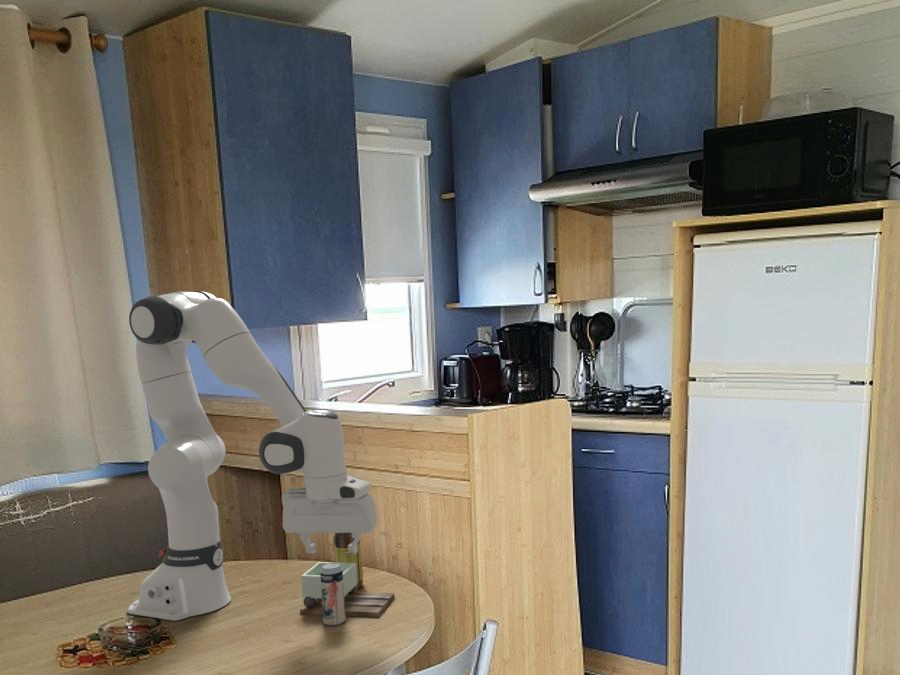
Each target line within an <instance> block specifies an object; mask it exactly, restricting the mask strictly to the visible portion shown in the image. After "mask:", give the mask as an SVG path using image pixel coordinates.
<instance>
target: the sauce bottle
mask: <svg viewBox="0 0 900 675" xmlns="http://www.w3.org/2000/svg"><path fill="white" fill-rule="evenodd" d="M354 538H355V537H354ZM354 538H352V533H334V537H333V550H334V552H333V553H334V562H335V563H356V570H357V585H356V586H357V589H359V588H361V587H362V586H363V585H364V580H363V578H364V574H363V572H364V570H363V561H362V560H363V559H362V548H361V540H359V542H358V543H357V546H358V552H357V553H356V554H349V553H348V545H350V544H351V543H353V541H354Z"/></svg>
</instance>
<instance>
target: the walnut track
mask: <svg viewBox="0 0 900 675" xmlns="http://www.w3.org/2000/svg"><path fill="white" fill-rule="evenodd" d="M394 599H395V593H394V592H389V593H388V592H373V591H372V592H370V591H369V592H367V591H355V592H354V593H353V594H347V595H346V596H345V597H344V604H345V617H367V618H369V617H370V618H379V617H380V616H381V615H382V614H383V613H384V611H385V610H386V608H387V607H388V606H389V605H390V604H391V603H392V601H393V600H394ZM315 600H316V602H315V604H314V605H313V606H312V607H310V608H308V607H306V606H305V605H304V604H303V606H301V607H300V608H299V614H301V615H318V616H319V615H322V616H323V608H322V598H315Z"/></svg>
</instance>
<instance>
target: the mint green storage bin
mask: <svg viewBox="0 0 900 675" xmlns="http://www.w3.org/2000/svg"><path fill="white" fill-rule="evenodd" d="M327 563H335V561H334V562H330V561H329V562H328V561H327V562H326V561H324V562H323V561H318V562H317V563H316V564H314V565H313V566H312V567H311V568H309V569H308V570H307V571H305V572H304V573H303V574H302V575H301V578H300V579H301V593H302V598H303V606H304V605H305V606H306V607H308V608H310V607H312V606H313V605H314V604H315V602H316V600H315V598H322V591H321V574H320V570H321V567H322V565H324V564H327ZM340 565H341V567H342V568H343V587H344V597H345V596H346V595H347V594H353V593H354V592H357V590H358V588H357V586H356V585H357V570H356V563H340Z"/></svg>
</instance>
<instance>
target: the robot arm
mask: <svg viewBox="0 0 900 675" xmlns="http://www.w3.org/2000/svg"><path fill="white" fill-rule="evenodd" d="M128 323H129V327H130V330H131V332H132V334H133V335H134V337H135V338H136V339H137V342H136V345H135V354H136V356H135V357H136V365H137V370H138V374H139V375H138V376H139V380H140V384H141V388H142V390H143V391H142V392H143V394H144V398H145V402H146V407H147V410H148V413H149V416H150V418H151V419H152V420H153V421H154V422H155V423H156V424H157V426H159V428H160V429H161V432H162V433H163V435H164V437H165V438H166V440H167V442H165V443H163V445H161V446H160V447H159V448H158V449H157V450H156V451H155V452H154V453H153V455H152V456H151V457H150V458H149V459H150V460H149V461H148V466H147V471H148V472H147V473H148V476H149V479H150V480H151V482H152V483H153V485H154V486H156V487H157V488H158V491H159V493H160V496H161V500H162V503H163V506H164V508H165V514H166V524H167V536H168V545H167V546H165V547H164V548H163V549H162V550H160V551H158V553H159V555H158V557H162V556H163V555H164V556H163V560H162V563H160V565H158V566H157V567H156V568H155V569H154V570H153V571H152V572H150V573H149V574H148V575H147V576H146V577H145V578H144V579H143V580H142V582H141V583H140V587H139V591H138V598H137V599H136V600H135V601H134V602H132V603H131V604H129V607H128V610H127V611H128V614H130V615H136V616H142V617H149V618H153V619H155V618H157V619H159V620H160V619H162V620H168V621H179V620H183V619H187V618H190V617H195V616H199V615H204V614H208V613H212V612H214V611H216V610H219V609H221V608H223V607H225V606H227V605H228V604H229V603H231V600H232V597H231V594H230V592H229V588H228V586H227V582H226V578H225V573H224V568H223V564H224V563H223V562H224V561H223V560H224V559H223V558H224V552H223V542H222V541H223V540H222V538H220V520H219V510H218V505H217V503H216V502H215V501H214V500H213V497H212V494H211V490H210V488H209V484H208V483H209V482H208V477H209V476H211V475H212V474H214V473H215V472H216V471H217V470H219V468H220V466H221V465H222V464H223V462H224V460H225V457H226V445H225V443H224V441H223V440H222V438H221V437H220V436H219V435H218V434H217V433H216V431H215V430H214V428H213V426H212V424H211V422H210V420H209V418H208V416H207V414H206V413H205V410H204V408H203V405H202V403H201V400H200V396H199V394H198V390H197V386H196V383H195V380H194V375H193V372H192V369H191V368H192V367H191V365H190V363H189V359H188V354H187V352H188V346H189V345H190V344H191V343H192V344H196V345H197V347H198V350H199V351H200V354H201V355H202V357H203V358H204V361H205V362H206V364H207V366H208V367H209V369H210V371H211V372H212V373H213V374H214V376H215V377H216V378H217V379H218V380H219V381H220V382H222V383H223V384H225V385H227V386H230V387H235V388H239V389H242V390H245V391H249V392H251V393H253V394H255V395H257V396H259V397H260V398H261V399H262V400H264V402H265V403H266V404H267V405H268V407H269V409H270V410H271V412H272V413H273V414H274V416H275V417H276V419H277V421H279V423H280V425H281V427H279V428H276V429H274V430H271V431H270V432H269V433H267V434H265V435H264V436H263V437H262V438H261V440H260V443H259V447H258V454H259V455H258V456H259V460H260V462H261V464H262V466H263V467H264V468H265V469H266V470H267V471H268V472H270V473H272V474H275V475H287V474H290V473H294V472H295V471H302V472H303V478H304V487H298V488H293V487H290V488H287V490H285V491H284V492H283V493H282V496H281V503H282V507H283V509H282V529H283V530H284V532H285V534H299V538H300V539H299V540H300V541H301V542H302V543H303V545H304V546H305V550H306V551H305V552H306V554H308V555H310V554H312V555H313V554H315V553H316V552H317V549H316V548H317V546H316V543H313V542H312V540H311V539H310V537H309V536H310V535H311V534H335V533H352V538H354V537H355V538H354V541H353V543H351V544H350V545H348V553H349V554H356V553H357V552H358V546H357V543H358V542H359V540H360V539H361V537H362V533H365V534H367V533H368V534H369V533H371V532H372V531H374V530H375V529H376V527H377V526H378V513H377V507H376V503H375V500H374V497H373V496H372V495H371V494H370V493H369V492H370V491H371V483H370V482H369V481H366V480H363V479H361V478H357V477H354V476H351V475H348V472H347V471H348V470H347V467H346V464H345V454H346V445H345V438H344V437H345V436H344V430H343V425H342V422H341V419H340V416H338V414H337V413H335V412H333V411H330V410H325V409H309V410H306V407H305V406H304V405H303V404H302V402H301V401H300V399H299V398H298V396H297V395H296V393H295V392H294V391H293V389H292V387H290V385H289V384H288V381H286V379H285V377H283V375H282V374H281V373H280V371H279V370H278V369H277V367H275V366H274V364H273V363H272V362H271V361H270V360H269V359H268V358H267V356H266V355H265V354H264V352H263V350H262V349H261V348H260V346H259V345H258V343H257V341H256V340H255V338H254V337H253V335H252V333H251V331H250V330H249V328H248V326H247V325H246V324H245V322H244V321H243V319H242V318H241V316H240V315H239V314H238V312H237V311H236V310H235V309H234V308H233V307H232V305H231V304H230V303H229V302H228V301H227V300H225V299H223V298H218V297H216V296H215V295H214V294H212V293H209V292H206V291H201V290H195V291H174V292H170V293H165V294H160V295H150V296H147V297H144V298H141V299H139V300H138V301H136V302H135V303H134V304H133V305H132V306H131V308H130V311H129V316H128ZM360 541H361V540H360Z"/></svg>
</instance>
